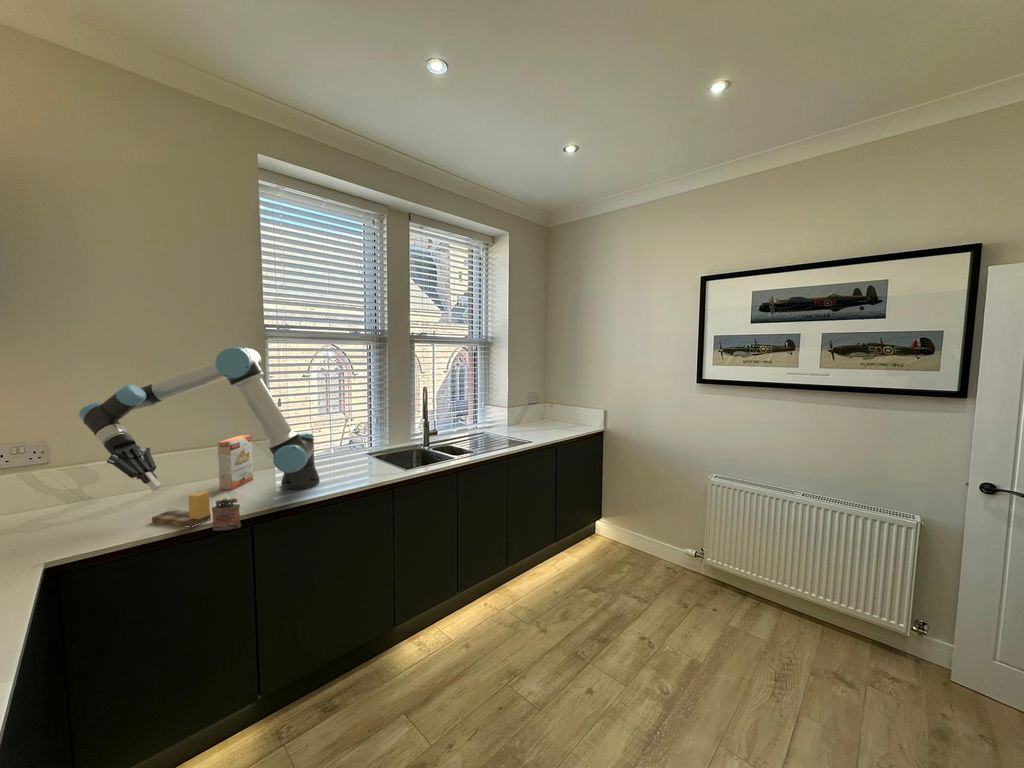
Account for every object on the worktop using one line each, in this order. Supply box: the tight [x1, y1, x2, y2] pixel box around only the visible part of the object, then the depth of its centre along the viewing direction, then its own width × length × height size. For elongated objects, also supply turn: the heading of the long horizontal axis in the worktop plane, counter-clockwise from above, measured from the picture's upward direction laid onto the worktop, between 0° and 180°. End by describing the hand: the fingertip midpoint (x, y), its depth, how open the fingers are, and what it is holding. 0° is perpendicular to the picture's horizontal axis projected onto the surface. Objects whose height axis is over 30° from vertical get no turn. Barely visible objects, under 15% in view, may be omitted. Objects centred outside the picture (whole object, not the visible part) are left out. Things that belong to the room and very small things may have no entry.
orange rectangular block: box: [187, 491, 211, 519], centre depth 141 cm, size 4×4×8 cm
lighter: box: [211, 497, 242, 531], centre depth 137 cm, size 8×3×10 cm, turn 105°
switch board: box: [151, 509, 212, 528], centre depth 143 cm, size 17×7×2 cm, turn 77°
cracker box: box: [217, 434, 254, 491], centre depth 180 cm, size 14×6×21 cm, turn 179°
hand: (157, 488), depth 144 cm, fingers closed
